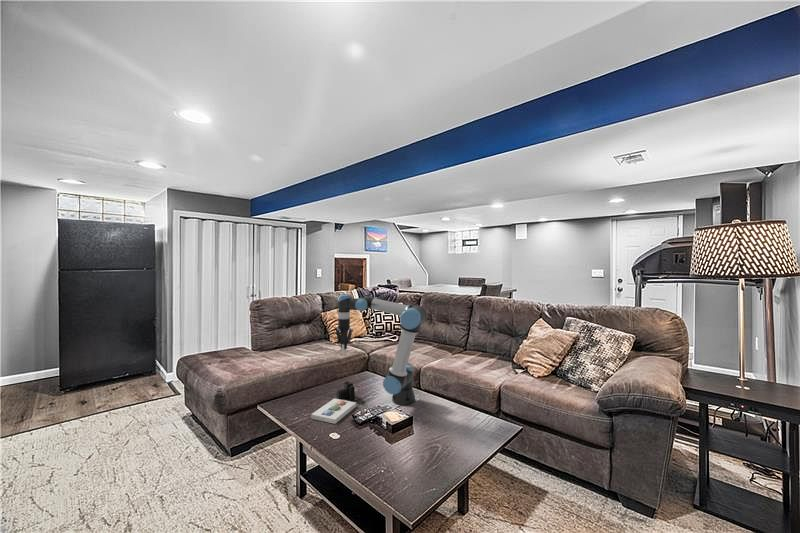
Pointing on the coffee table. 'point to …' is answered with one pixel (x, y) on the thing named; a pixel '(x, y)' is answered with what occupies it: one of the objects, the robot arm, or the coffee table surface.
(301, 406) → the coffee table surface
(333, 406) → the button sage
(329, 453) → the coffee table surface
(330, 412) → the button slate
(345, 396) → the camera
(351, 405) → the panel
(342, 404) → the button terracotta
